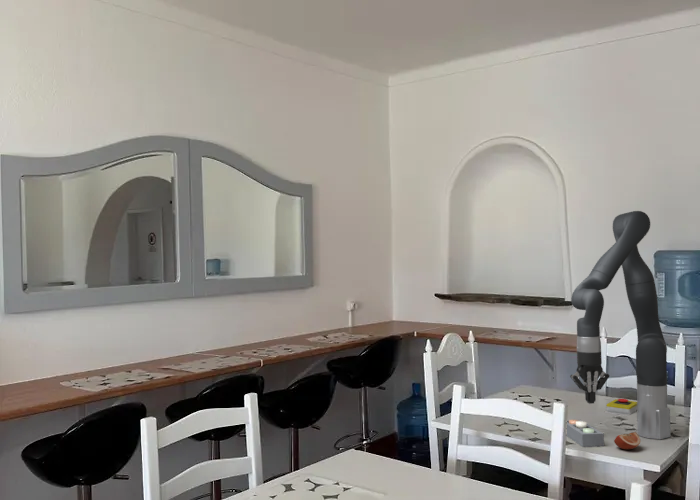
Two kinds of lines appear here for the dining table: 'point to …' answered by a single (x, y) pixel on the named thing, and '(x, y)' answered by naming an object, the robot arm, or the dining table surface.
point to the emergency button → (621, 407)
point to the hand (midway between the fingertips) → (590, 403)
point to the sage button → (588, 430)
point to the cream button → (581, 424)
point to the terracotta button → (573, 421)
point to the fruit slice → (627, 440)
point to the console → (585, 436)
